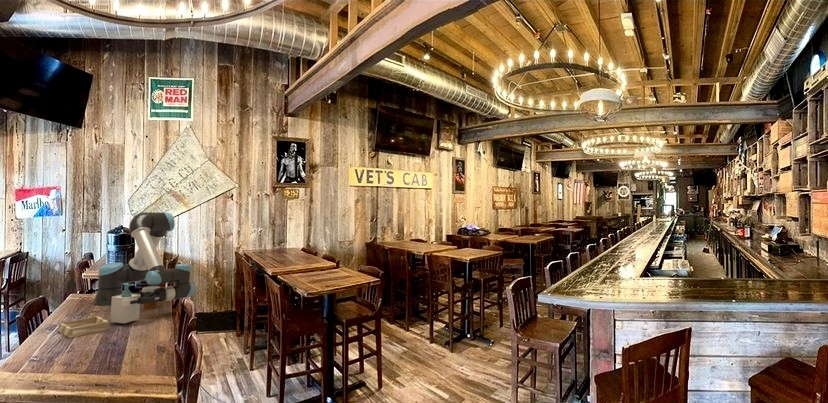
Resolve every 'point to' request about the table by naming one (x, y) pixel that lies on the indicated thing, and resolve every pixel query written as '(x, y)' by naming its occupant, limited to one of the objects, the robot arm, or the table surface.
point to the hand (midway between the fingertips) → (117, 301)
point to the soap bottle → (124, 307)
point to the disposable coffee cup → (151, 289)
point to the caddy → (83, 326)
